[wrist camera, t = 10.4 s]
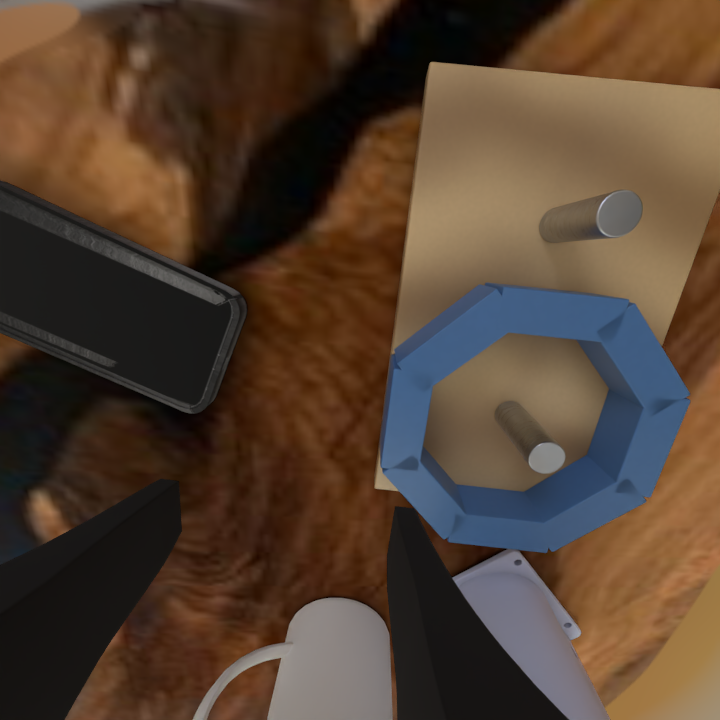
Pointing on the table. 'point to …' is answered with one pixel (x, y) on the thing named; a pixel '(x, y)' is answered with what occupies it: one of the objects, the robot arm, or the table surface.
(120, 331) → the phone
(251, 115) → the table surface
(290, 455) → the table surface
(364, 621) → the mug
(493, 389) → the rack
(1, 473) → the table surface
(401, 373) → the ring
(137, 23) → the table surface
